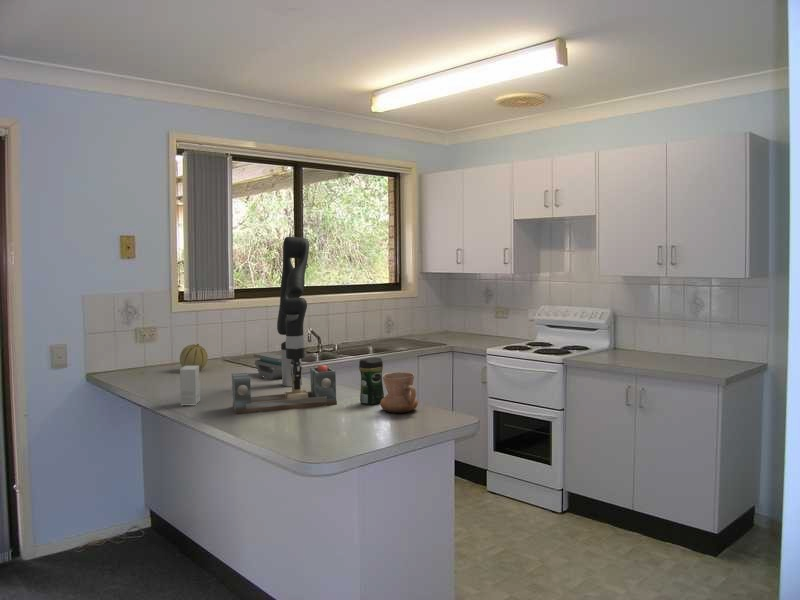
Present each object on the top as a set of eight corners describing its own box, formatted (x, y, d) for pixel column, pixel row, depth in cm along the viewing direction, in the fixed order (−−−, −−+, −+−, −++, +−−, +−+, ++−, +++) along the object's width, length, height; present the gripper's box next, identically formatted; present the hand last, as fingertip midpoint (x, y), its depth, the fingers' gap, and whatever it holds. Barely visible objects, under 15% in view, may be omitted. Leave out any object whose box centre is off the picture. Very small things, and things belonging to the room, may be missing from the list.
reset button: (317, 375, 265) (316, 365, 265) (326, 374, 266) (326, 364, 266) (319, 376, 261) (318, 367, 261) (328, 376, 263) (328, 366, 262)
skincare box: (185, 402, 269) (183, 365, 268) (201, 401, 270) (199, 365, 269) (180, 406, 261) (178, 369, 260) (196, 406, 262) (195, 368, 261)
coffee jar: (375, 399, 267) (374, 355, 266) (387, 402, 261) (386, 357, 260) (356, 403, 261) (355, 358, 260) (367, 406, 255) (366, 360, 254)
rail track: (232, 406, 259) (231, 373, 259) (329, 397, 272) (328, 366, 272) (235, 414, 246) (234, 379, 245) (336, 404, 259) (336, 371, 258)
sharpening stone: (254, 374, 332) (253, 354, 331) (267, 372, 337) (267, 352, 337) (278, 381, 313) (278, 359, 313) (292, 378, 318) (292, 357, 318)
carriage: (285, 398, 263) (284, 374, 263) (304, 396, 266) (303, 372, 265) (288, 402, 256) (287, 377, 255) (308, 400, 258) (307, 376, 258)
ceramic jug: (371, 409, 249) (370, 373, 248) (401, 403, 258) (400, 369, 256) (398, 419, 235) (397, 381, 233) (429, 412, 243) (428, 376, 242)
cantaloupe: (183, 369, 353) (182, 342, 352) (210, 368, 355) (209, 341, 354) (177, 374, 339) (175, 346, 338) (205, 373, 340) (204, 345, 339)
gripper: (283, 345, 265) (284, 386, 266) (288, 349, 251) (289, 392, 253) (301, 343, 267) (302, 384, 268) (307, 348, 254) (308, 390, 255)
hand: (296, 388), depth 260 cm, fingers closed on carriage, 3 cm apart
